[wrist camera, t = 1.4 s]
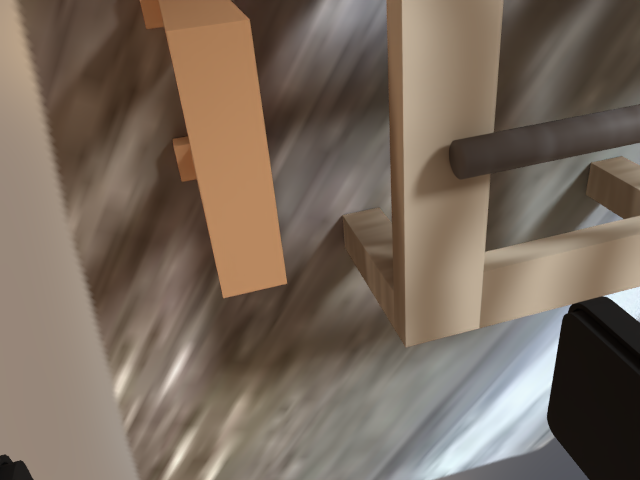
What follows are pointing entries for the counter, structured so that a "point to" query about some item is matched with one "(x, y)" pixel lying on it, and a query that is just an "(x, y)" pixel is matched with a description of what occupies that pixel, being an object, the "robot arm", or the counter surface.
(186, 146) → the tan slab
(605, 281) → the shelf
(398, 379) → the counter surface
